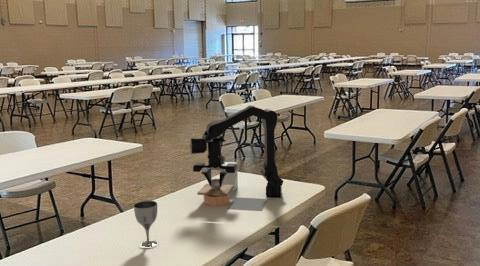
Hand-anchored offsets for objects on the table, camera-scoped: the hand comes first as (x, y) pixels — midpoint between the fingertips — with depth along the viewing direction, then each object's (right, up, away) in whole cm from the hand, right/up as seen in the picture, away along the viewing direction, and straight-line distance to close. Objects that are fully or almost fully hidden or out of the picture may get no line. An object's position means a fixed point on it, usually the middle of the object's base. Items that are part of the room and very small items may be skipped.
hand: (216, 186), depth 204 cm
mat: (+14, -8, -3) cm, 16 cm away
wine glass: (-22, -16, -40) cm, 48 cm away
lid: (0, -2, 0) cm, 2 cm away
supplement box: (+5, -4, +19) cm, 20 cm away
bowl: (0, -7, +1) cm, 7 cm away
